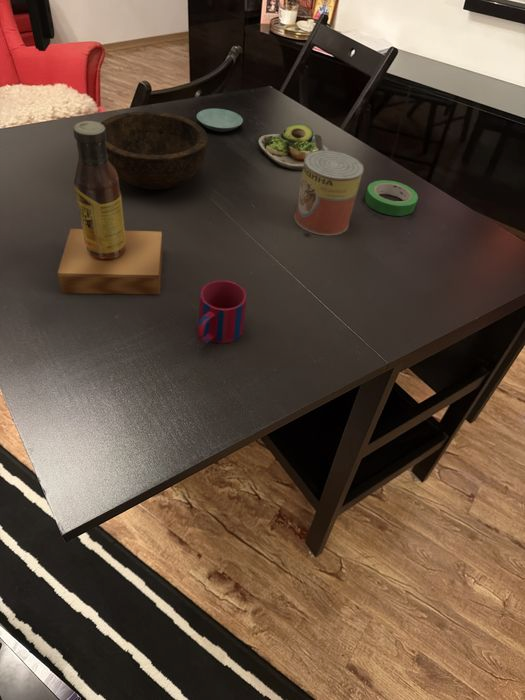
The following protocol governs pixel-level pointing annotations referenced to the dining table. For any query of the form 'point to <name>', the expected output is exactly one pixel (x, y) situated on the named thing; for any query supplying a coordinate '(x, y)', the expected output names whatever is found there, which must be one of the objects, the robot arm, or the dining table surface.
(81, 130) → the sauce bottle
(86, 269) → the oak stand
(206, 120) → the saucer
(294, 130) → the avocado toast plate
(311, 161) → the canned food
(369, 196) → the tape roll
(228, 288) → the mug
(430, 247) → the dining table surface
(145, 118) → the bowl
